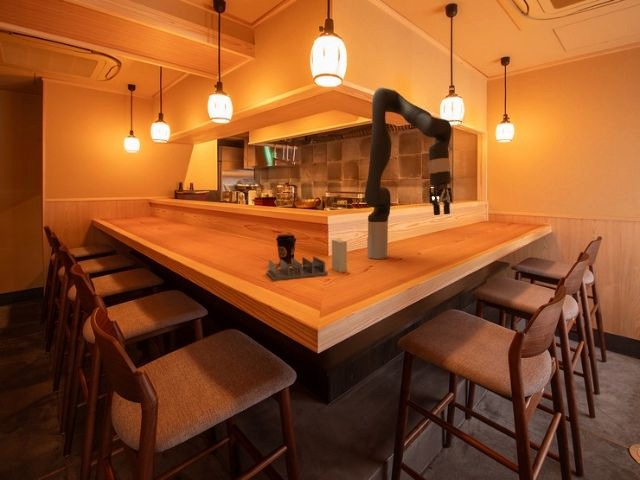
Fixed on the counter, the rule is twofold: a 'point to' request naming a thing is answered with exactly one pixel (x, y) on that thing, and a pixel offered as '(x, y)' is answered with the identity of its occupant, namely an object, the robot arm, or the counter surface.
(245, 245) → the counter surface
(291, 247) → the coffee cup
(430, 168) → the robot arm
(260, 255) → the counter surface
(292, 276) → the dish rack
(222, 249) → the counter surface
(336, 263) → the tall cream pillar
